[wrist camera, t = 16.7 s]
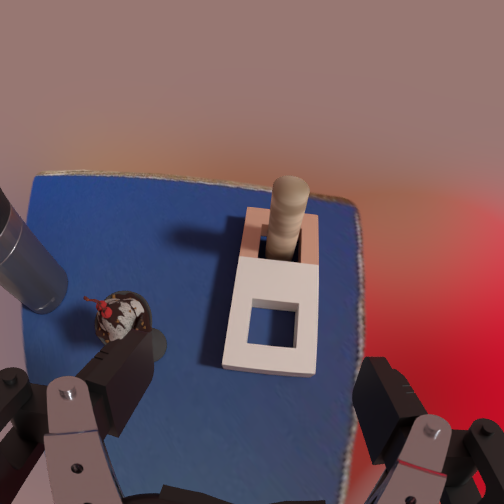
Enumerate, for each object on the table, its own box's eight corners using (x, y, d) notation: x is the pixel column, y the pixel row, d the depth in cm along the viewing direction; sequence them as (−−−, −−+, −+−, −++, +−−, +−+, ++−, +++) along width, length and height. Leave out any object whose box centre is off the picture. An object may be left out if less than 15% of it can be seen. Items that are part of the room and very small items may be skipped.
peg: (259, 250, 45) (265, 183, 33) (281, 238, 46) (294, 171, 34) (275, 271, 43) (288, 207, 31) (298, 258, 44) (317, 192, 32)
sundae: (119, 334, 37) (66, 286, 24) (160, 314, 39) (123, 257, 26) (137, 377, 34) (82, 347, 21) (181, 356, 36) (147, 316, 23)
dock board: (247, 219, 48) (247, 206, 45) (314, 226, 48) (317, 215, 45) (223, 368, 35) (221, 364, 32) (309, 377, 35) (315, 373, 32)
